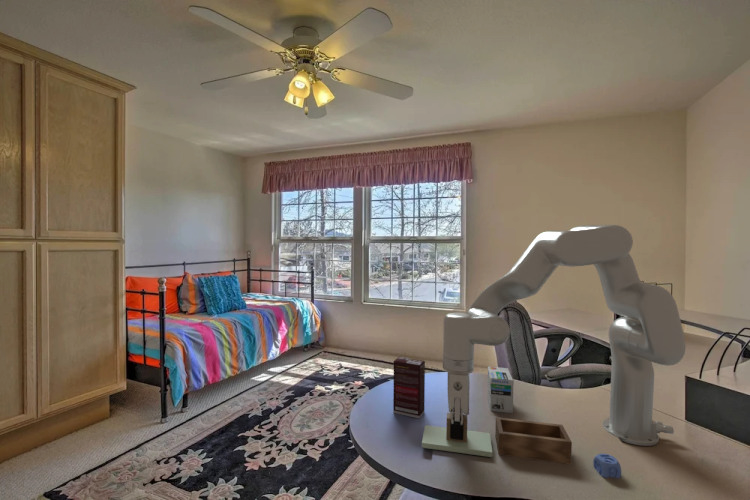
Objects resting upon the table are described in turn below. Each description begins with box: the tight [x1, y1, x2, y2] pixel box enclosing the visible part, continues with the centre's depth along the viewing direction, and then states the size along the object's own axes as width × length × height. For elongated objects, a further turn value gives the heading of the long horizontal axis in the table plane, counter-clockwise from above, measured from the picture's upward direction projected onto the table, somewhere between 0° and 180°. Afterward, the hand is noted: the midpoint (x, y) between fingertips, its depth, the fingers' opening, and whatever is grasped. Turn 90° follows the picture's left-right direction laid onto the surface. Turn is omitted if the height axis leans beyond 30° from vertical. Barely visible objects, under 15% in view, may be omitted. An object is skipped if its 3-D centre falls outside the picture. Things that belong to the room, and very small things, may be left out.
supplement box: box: [392, 356, 426, 420], centre depth 111 cm, size 9×5×16 cm, turn 65°
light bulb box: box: [486, 366, 515, 414], centre depth 116 cm, size 11×7×11 cm, turn 168°
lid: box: [421, 412, 493, 458], centre depth 93 cm, size 17×9×7 cm, turn 77°
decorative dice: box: [592, 453, 622, 479], centre depth 83 cm, size 4×4×4 cm
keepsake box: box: [494, 416, 573, 465], centre depth 91 cm, size 16×8×6 cm, turn 77°
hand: (456, 434), depth 93 cm, fingers closed on lid, 3 cm apart
